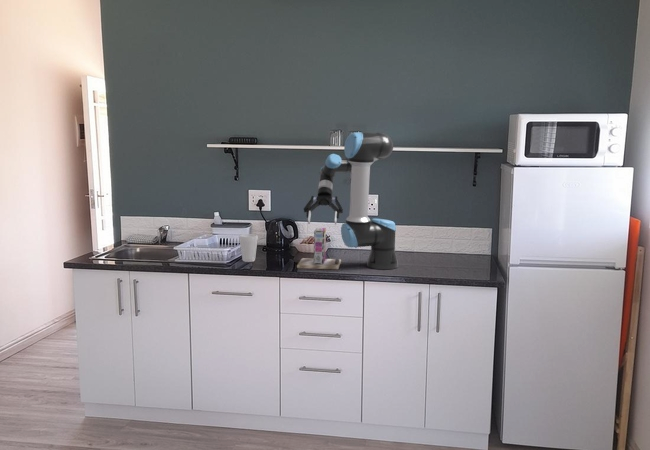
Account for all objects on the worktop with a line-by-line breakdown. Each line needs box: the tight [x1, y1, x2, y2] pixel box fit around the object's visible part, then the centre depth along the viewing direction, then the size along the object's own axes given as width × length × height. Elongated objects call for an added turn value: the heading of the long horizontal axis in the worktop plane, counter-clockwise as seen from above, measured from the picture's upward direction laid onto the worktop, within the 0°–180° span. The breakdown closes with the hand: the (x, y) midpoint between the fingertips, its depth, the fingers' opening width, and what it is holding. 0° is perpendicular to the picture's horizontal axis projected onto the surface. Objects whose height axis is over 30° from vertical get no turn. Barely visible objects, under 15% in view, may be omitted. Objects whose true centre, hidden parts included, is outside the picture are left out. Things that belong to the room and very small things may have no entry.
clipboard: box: [296, 257, 342, 270], centre depth 269 cm, size 20×17×2 cm
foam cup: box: [238, 233, 259, 263], centre depth 277 cm, size 10×9×13 cm
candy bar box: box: [313, 227, 327, 264], centre depth 268 cm, size 11×5×16 cm, turn 174°
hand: (322, 222), depth 277 cm, fingers open, 13 cm apart
